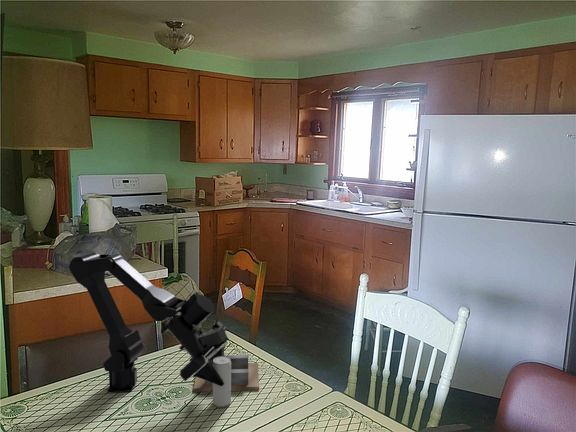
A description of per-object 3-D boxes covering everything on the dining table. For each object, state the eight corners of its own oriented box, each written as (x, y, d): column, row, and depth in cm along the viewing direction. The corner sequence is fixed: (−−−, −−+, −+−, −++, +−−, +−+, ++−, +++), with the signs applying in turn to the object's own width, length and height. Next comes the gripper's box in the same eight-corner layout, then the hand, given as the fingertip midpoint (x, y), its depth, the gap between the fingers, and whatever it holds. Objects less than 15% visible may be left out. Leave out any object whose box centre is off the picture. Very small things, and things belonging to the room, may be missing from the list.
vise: (193, 391, 128) (193, 376, 127) (199, 365, 143) (198, 351, 142) (259, 390, 129) (259, 374, 129) (257, 364, 144) (257, 350, 144)
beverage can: (215, 409, 119) (216, 365, 117) (210, 400, 123) (210, 357, 122) (233, 405, 121) (233, 362, 120) (227, 396, 126) (227, 354, 124)
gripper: (191, 330, 111) (234, 380, 110) (221, 304, 129) (259, 347, 128) (162, 356, 114) (203, 405, 113) (196, 328, 132) (232, 370, 131)
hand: (226, 380), depth 121 cm, fingers closed on beverage can, 5 cm apart
